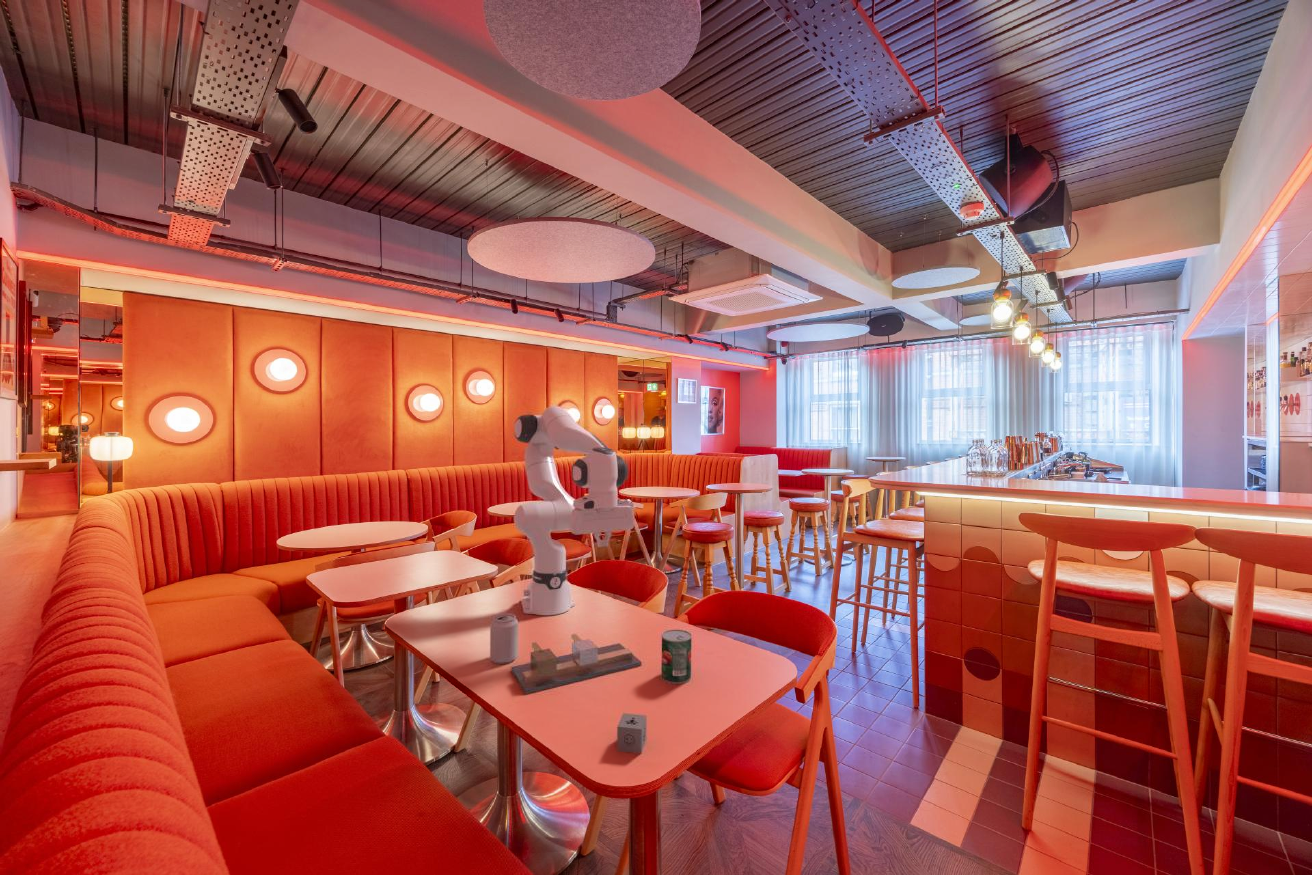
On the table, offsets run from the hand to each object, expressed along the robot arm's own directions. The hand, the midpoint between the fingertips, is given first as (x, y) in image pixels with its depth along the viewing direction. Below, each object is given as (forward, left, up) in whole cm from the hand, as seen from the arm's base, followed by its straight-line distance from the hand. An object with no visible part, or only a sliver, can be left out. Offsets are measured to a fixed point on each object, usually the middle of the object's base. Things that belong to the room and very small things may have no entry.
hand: (602, 546), depth 156 cm
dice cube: (+50, -15, -30) cm, 60 cm away
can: (-2, -29, -29) cm, 41 cm away
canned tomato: (+30, +8, -29) cm, 43 cm away
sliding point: (+12, -12, -28) cm, 32 cm away
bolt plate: (+13, -13, -29) cm, 34 cm away
